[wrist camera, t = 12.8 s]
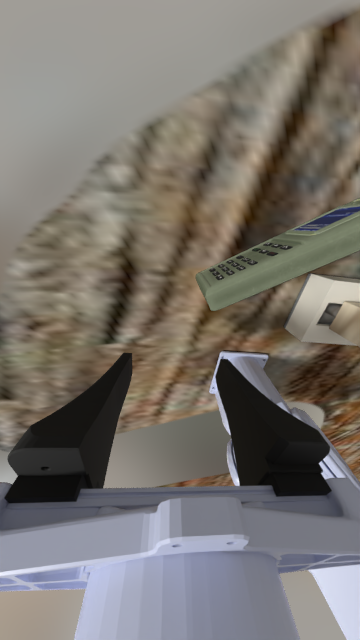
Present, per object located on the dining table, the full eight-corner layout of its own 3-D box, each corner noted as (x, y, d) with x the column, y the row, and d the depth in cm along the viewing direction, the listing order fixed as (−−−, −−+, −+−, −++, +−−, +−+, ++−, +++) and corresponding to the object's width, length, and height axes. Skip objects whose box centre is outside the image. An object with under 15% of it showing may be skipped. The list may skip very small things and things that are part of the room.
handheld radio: (192, 270, 20) (421, 163, 16) (201, 293, 22) (412, 200, 18) (202, 288, 15) (559, 129, 11) (213, 317, 16) (528, 188, 12)
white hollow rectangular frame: (415, 285, 22) (457, 294, 19) (376, 334, 26) (406, 349, 23) (308, 273, 21) (334, 280, 18) (283, 327, 25) (300, 341, 21)
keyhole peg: (330, 319, 24) (395, 354, 17) (301, 317, 23) (355, 352, 16) (347, 290, 22) (428, 315, 15) (316, 287, 21) (383, 312, 14)
